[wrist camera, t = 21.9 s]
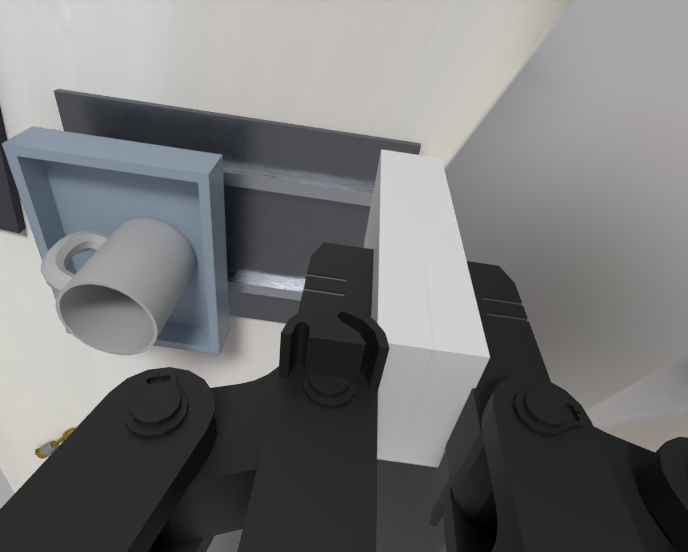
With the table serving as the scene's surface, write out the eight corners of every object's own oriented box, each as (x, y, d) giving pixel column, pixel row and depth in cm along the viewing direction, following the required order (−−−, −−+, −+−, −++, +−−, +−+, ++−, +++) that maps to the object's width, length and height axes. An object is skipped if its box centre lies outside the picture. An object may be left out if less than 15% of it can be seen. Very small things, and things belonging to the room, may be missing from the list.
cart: (230, 143, 37) (208, 174, 32) (235, 313, 48) (219, 354, 44) (50, 116, 37) (1, 143, 32) (98, 293, 48) (67, 333, 43)
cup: (183, 295, 43) (143, 367, 36) (75, 247, 40) (9, 315, 33) (209, 240, 39) (169, 309, 32) (90, 183, 36) (19, 245, 29)
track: (420, 143, 38) (421, 150, 36) (375, 331, 51) (375, 342, 50) (58, 89, 37) (46, 94, 36) (109, 293, 51) (101, 303, 49)
